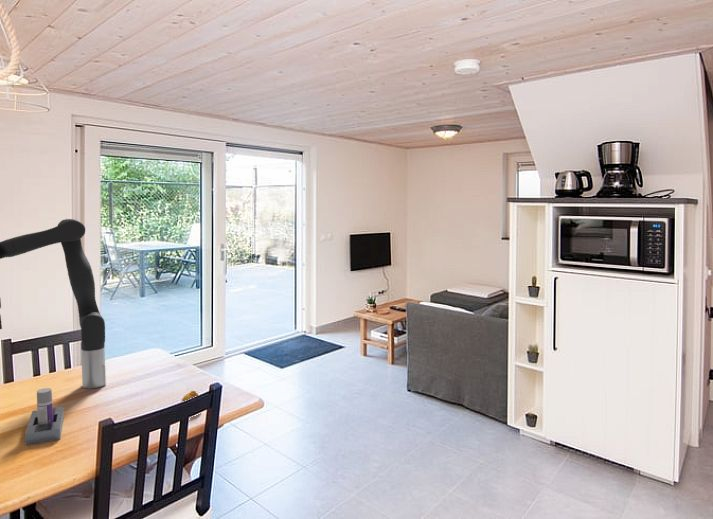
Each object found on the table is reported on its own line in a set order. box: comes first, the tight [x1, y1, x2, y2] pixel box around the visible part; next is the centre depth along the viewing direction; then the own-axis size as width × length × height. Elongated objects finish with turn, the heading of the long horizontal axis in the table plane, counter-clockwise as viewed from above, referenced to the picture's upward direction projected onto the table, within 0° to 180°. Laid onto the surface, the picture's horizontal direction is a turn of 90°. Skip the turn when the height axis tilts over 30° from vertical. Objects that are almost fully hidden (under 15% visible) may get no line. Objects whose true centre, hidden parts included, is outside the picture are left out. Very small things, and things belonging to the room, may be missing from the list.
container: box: [36, 387, 54, 425], centre depth 173 cm, size 5×5×15 cm
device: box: [24, 406, 65, 446], centre depth 174 cm, size 10×20×4 cm, turn 28°
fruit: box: [180, 390, 199, 403], centre depth 194 cm, size 8×8×8 cm
